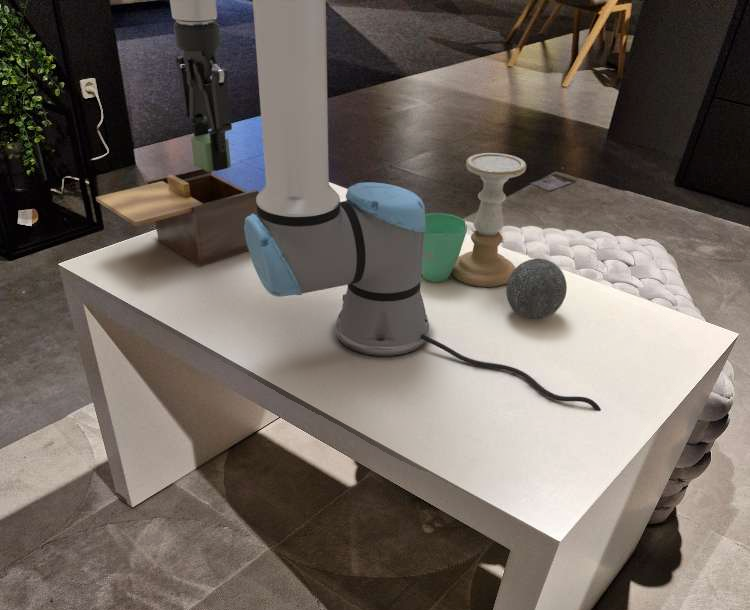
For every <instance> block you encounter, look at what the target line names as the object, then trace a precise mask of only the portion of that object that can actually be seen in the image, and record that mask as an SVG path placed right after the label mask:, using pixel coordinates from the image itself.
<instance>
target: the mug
mask: <svg viewBox="0 0 750 610" xmlns="http://www.w3.org/2000/svg"><path fill="white" fill-rule="evenodd" d="M425 227H426V231H425V232H424V244H423V258H422V272H421V276H422V277H423V279H424V280H426V281H428V282H431V283H442V282H445V281H447V280H448V279H449V278H450V276H451V275H452V273H451V272H452V270H453V268H454V266H455V264H456V261H457V259H458V257H459V256H460V254H461V250H462V247H463V243H464V241H465V238H466V234H467V231H468V225H467V224H466V221H465V220H464V219H463V218H461V217H459V216H456V215H453V214H448V213H437V212H436V213H435V212H434V213H427V214H426V213H425Z"/></svg>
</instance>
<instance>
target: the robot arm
mask: <svg viewBox="0 0 750 610" xmlns="http://www.w3.org/2000/svg"><path fill="white" fill-rule="evenodd" d="M169 4H170V12H171V17H172V18H171V19H173V20H175V21H174V23H173V32H174V40H175V46H176V47H177V49H179V50H181V51H183V55H181V56H175V59H174V60H175V65H176V69H177V71H178V77H179V85H180V93H181V99H182V100H181V102H182V108H183V115H184V118H186V119H189V122H190V124H192V130H193V137H195V136H199V135H204V134H210V143H211V150H212V159H213V167H214V170H215V171H214V172H219V171H223V170H226V169H229V167H228V161H227V152H226V140H225V138H226V132H229V131H232V129H233V126H232V125H233V124H232V117H231V116H232V115H231V105H230V96H229V87H228V86H229V85H228V82H229V81H228V80H229V72H228V69H227V68H221V67H220V66H219V64H218V59H217V57H216V52H215V51H216V50H217V49H219V48H220V46H221V33H220V24H219V23H218V22H217V21H216V19H218V8H217V0H169ZM252 10H253V24H254V38H255V51H256V52H255V53H256V64H257V65H256V66H257V78H258V80H257V81H258V93H259V105H260V121H261V133H262V134H261V135H262V145H263V146H262V147H263V160H264V161H263V162H264V177H265V186H264V187H263V188H262V189H261V190H260V191H259V192H258V195H257V197H256V205H257V214H256V215H255V214H251V215H250V216H248V217H246V219H245V225H244V231H245V237H246V242H247V246H248V250H249V251H248V253H249V257H250V259H251V263H252V265H253V267H254V270H255V272H256V275H257V277H258V278H259V281H260V283H261V284H262V286H263V287H264V289H265V290H266V291H267V292H268V293H269V294H270V295H272V296H274V297H277V298H283V297H288V296H295V295H296V296H302V295H303V294H307V293H313V292H317V291H322V290H323V291H324V290H327V289H333V288H337V287H338V288H339V287H344V286H346V287H347V288H346V292H345V294H342V306H341V310H340V311H339V312H338V316H337V319H336V336H337V339H338V340H339V341H340V342H341V343H342V344H343V345H344V346H345V347H347V348H349V350H350V349H351V350H352V351H354V352H357V353H361V354H364V355H369V356H375V357H377V356H378V357H394V356H400V355H405V354H408V353H411V352H413V351H416V350H417V349H419V348H421V347H422V346H424V345H425V344H426V342H427V343H429V344H431V345H433V346H435V347H437V348H439V349H441V350H443V351H444V352H446V353H448V354H450V355H451V356H453V357H455V358H456V359H458V360H460V361H463V362H465V363H466V364H470V365H474V366H477V367H483V368H491V369H497V370H503V371H507V372H509V373H513V374H515V375H518V376H520V377H522V378H523V379H524V380H526V381H527V382H528V383H529V384H530V385H532V387H534V388H535V389H536V390H537V391H538V392H540V393H541V394H543V395H544V396H546V397H548V398H550V399H552V400H555V401H559V402H580V403H581V402H582V403H586V404H588V405H589V406H591V407H592V408H593V409H594V410H595V411H597V412H601V411H602V409H601V407H600V406H599V404H597V402H595V401H594V400H593V399H591V398H590V397H586V396H564V395H558V394H555V393H553V392H551V391H550V390H547V389H545V388H544V387H543V386H542V385H541V384H540V383H538V382H537V381H536V380H535V379H534V378H533V377H531V376H530V374H528V373H527V372H525V371H522V370H520V369H519V368H516V367H513V366H510V365H505V364H499V363H492V362H485V361H480V360H476V359H472V358H470V357H467V356H465V355H463V354H460V353H459V352H457V351H455V350H454V349H452V348H451V347H449V346H447V345H445V344H443V343H441V342H439V341H437V340H435V339H434V338H432V337H430V336H429V333H430V332H429V330H430V323H429V318H428V315H427V312H426V308H425V307H426V306H425V303H424V300H423V296H422V292H421V286H422V258H423V244H424V232H425V231H426V227H425V215H426V207H425V204H424V202H423V200H422V199H421V197H420V196H419V195H418V194H417V193H415V192H413V191H411V190H409V189H407V188H404V187H402V186H397V185H394V184H390V183H383V182H375V181H374V182H373V181H371V182H368V181H366V182H357V183H354V184H353V185H350V186H349V187H348V188H347V191H346V194H345V199H346V200H343V201H341V197H340V195H339V193H338V192H337V191H336V190H335V189H334V188H333V187H332V186H331V185H330V173H329V170H330V169H329V168H330V167H329V166H330V165H329V120H328V119H329V113H328V112H329V111H328V109H329V107H328V58H327V57H328V56H327V55H328V53H327V52H328V51H327V50H328V49H327V45H328V44H327V0H252ZM205 107H206V112H207V116H208V117H206V116H205ZM208 120H209V124H210V129H211V130H209V124H208V122H207V121H208Z"/></svg>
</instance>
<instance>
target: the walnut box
mask: <svg viewBox="0 0 750 610" xmlns="http://www.w3.org/2000/svg"><path fill="white" fill-rule="evenodd" d="M172 175H174V176H176V177H178V178H180V179H181V180H183V181H185V182H187V183H189V188H190V195H191V197H192V198H194V199H196V200H197V201H199V202H201V203H203V204H200V205H196V206H192V212H189V213H185V214H181V215H177V216H174V217H170V218H166V219H162V220H159V221H155V222H154V224H155V229H156V234H157V240H159V241H160V242H162V243H163V244H165V245H166V246H168V247H170V248H171V249H173V250H175V251H177V252H178V253H179V254H180V255H182V256H184V257H186V258H187V259H189V260H190V261H192V262H193V263H195V264H196V265H198V266H200V267H201V266H204V265H207V264H210V263H213V262H217V261H220V260H223V259H226V258H229V257H232V256H233V257H234V256H236V255H239V254H243V253H246V252H249V250H248V246H247V242H246V237H245V231H244V225H245V219H246V217H248V216H250V215H251V214H255V215H256V214H257V205H256V197H257V195H258V194H259V190H257V189H253V190H249V191H248V190H246V189H244V188H242V187H240V186H237V185H236V184H234V183H232V182H230V181H227V180H225V179H224V178H222V177H220V176H218V175H216V174H214V173H212V172H207V171H205V170H203V169H201V168H199V167H197V168H194V169H190V170H186V171H185V170H184V171H182V172H178V173H173V174H172ZM167 176H168V175H165V176H160V177H156V178H152V179H148V180H147V179H146V180H145V185H148V184H152V183H157V182H161V181H163V182H165V183H167V184H168V180H167Z"/></svg>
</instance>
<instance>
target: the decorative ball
mask: <svg viewBox="0 0 750 610" xmlns="http://www.w3.org/2000/svg"><path fill="white" fill-rule="evenodd" d="M567 287H568V285H567V280H566V277H565V274H564V272H563V270H562V269H561V268H560V267H559V266H558V265H557V264H556V263H554V262H552V261H551V260H549V259H545V258H531V259H527V260H525V261H523V262H522V263H520V264H519V265H517V266H516V267H515V269H514V271H513V272H512V273H511V275H510V277H509V279H508V282H507V283H506V287H505V294H506V300H507V303H508V305H509V306H510V308H511V309H512V310H513V312H514V313H515V314H517V315H518V316H519V317H520V318H523V319H527V320H531V321H538V320H543V319H547V318H549V317H551V316H552V315H554V314H555V313H556V312H557V311H558V310H559V309H560V307H561V306H562V304H563V303H564V302H565V298H566V295H567V290H568V289H567Z"/></svg>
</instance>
